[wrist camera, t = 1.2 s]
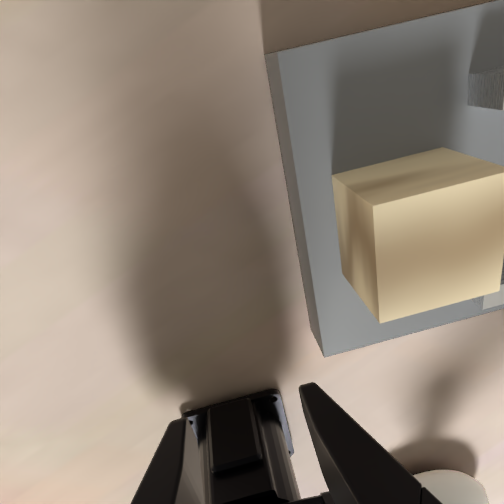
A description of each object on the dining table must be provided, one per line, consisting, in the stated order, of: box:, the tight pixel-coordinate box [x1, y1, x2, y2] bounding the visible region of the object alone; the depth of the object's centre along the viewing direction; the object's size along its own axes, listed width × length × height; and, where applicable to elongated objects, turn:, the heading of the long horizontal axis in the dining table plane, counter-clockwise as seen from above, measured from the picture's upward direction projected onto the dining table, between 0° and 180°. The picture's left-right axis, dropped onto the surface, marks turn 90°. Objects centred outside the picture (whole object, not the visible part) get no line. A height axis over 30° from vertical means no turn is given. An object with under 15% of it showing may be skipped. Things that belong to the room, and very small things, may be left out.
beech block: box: [332, 147, 504, 323], centre depth 16 cm, size 5×5×4 cm
